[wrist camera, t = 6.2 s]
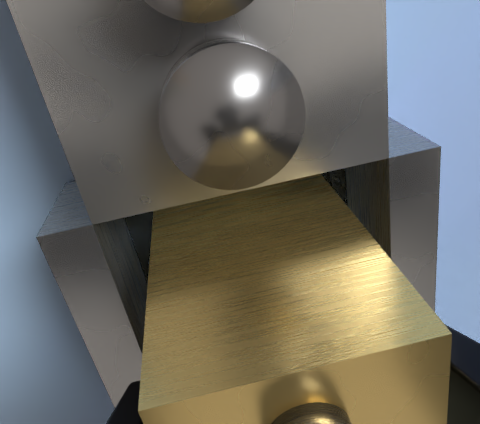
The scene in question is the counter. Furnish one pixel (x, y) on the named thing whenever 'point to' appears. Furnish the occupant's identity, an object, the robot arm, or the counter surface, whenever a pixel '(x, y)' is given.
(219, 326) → the studded golden block
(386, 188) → the chrome-studded grey beam
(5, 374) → the counter surface
